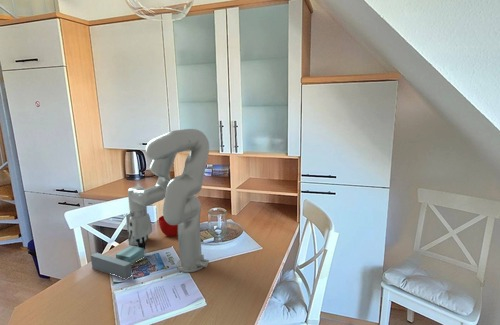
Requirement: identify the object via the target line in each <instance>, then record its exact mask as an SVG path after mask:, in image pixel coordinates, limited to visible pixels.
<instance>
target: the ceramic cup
mask: <svg viewBox="0 0 500 325" xmlns="http://www.w3.org/2000/svg"><path fill="white" fill-rule="evenodd" d="M158 225H159V229H160V230H161V232H162V234H164V235H165V236H166V237H168V238H170V237H176V236H178V225H170V224H168V223H167V222H166V221H165V219H164V217H163V215H161V216H160V217H159V218H158Z"/></svg>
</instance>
